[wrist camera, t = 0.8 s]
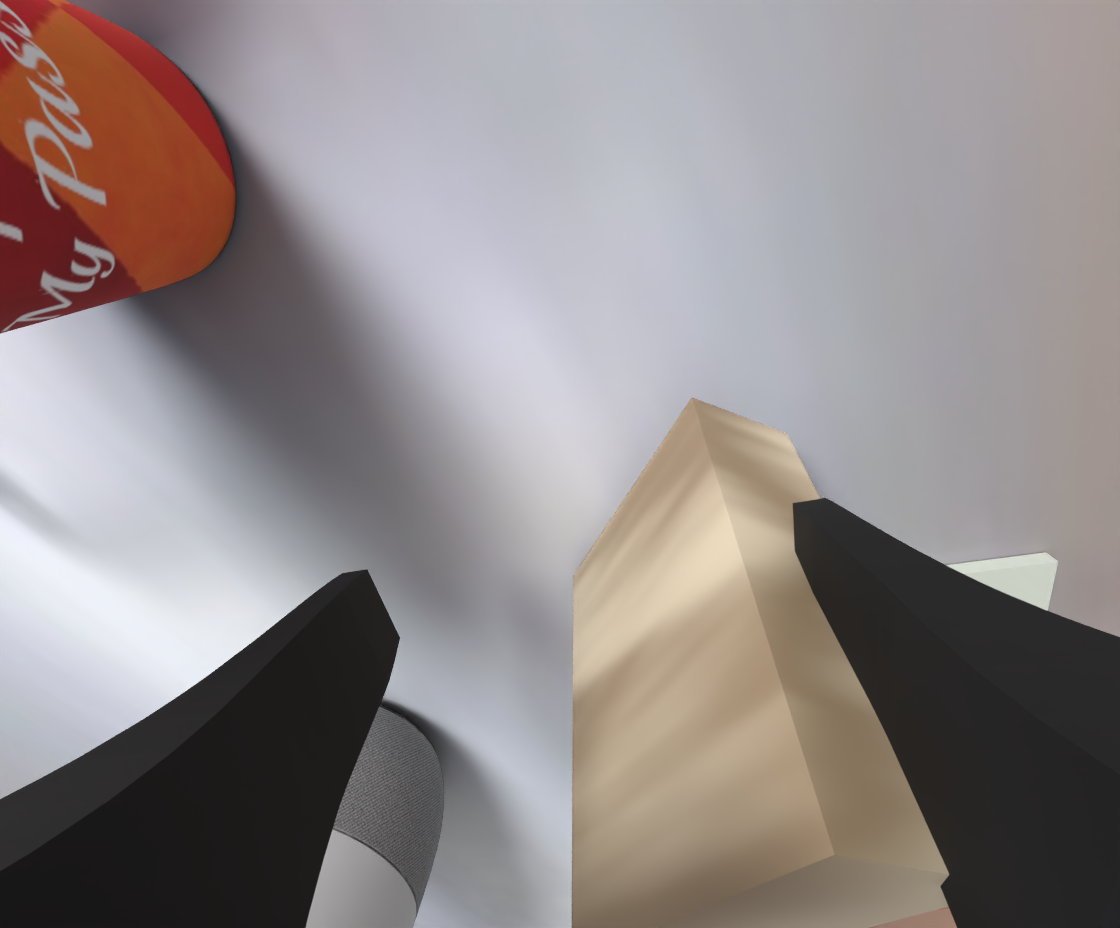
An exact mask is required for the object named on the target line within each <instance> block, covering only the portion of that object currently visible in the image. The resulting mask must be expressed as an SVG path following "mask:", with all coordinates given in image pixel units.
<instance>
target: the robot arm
mask: <svg viewBox="0 0 1120 928" xmlns="http://www.w3.org/2000/svg"><path fill="white" fill-rule="evenodd" d="M793 522H794V545H795V553H796V555H797V557H798V559H799V562H800V564H801V566H802V569H803V571H804V573H805V576H806V578H807V580H808V582H809V585H810V587H811V589H812V592H813V594H814V596H815V598H816V600H817V602H818V604H819V605H820V607H821V609H822V611H823V613H824V615H825V617H826V619H827V621H828V623H829V625H830V626H831V628H832V630H833V632H834V634H835V636H836V638H837V640H838V642H839V644H840V646H841V648H842V649H843V651H844V653H845V655H846V657H847V659H848V661H849V663H850V665H851V667H852V669H853V671H854V672H855V674H856V676H857V678H858V680H859V682H860V684H861V686H862V688H863V690H864V692H865V694H866V695H867V697H868V699H869V701H870V703H871V705H872V707H873V709H874V711H875V713H876V715H877V717H878V719H879V721H880V723H881V725H882V727H883V729H884V731H885V733H886V735H887V737H888V739H889V742H890V744H891V746H892V748H893V751H894V753H895V755H896V757H897V759H898V762H899V764H900V766H901V768H902V770H903V773H904V775H905V777H906V779H907V782H908V784H909V786H910V788H911V790H912V793H913V795H914V797H915V799H916V802H917V804H918V806H919V808H920V810H921V813H922V815H923V817H924V819H925V821H926V824H927V826H928V828H929V830H930V833H931V835H932V837H933V839H934V841H935V844H936V846H937V848H938V850H939V853H940V855H941V857H942V859H943V861H944V864H945V866H946V868H947V870H948V872H949V876H948V877H947V878H946V880H945V881H944V882H943V883H942V885H941V886H940V887H941V889H942V892H943V894H944V897H945V899H946V902H947V904H948V907H949V909H950V911H951V914H952V916H953V919H954V921H955V924H956V926H957V928H1120V637H1117V636H1115V635H1112V634H1109V633H1106V632H1103V631H1100V630H1097V629H1094V628H1092V627H1089V626H1086V625H1083V624H1080V623H1078V622H1075V621H1072V620H1070V619H1067V618H1065V617H1062V616H1059V615H1057V614H1054V613H1052V612H1049V611H1047V610H1044V609H1042V608H1039V607H1037V606H1035V605H1032V604H1030V603H1027V602H1025V601H1023V600H1020V599H1018V598H1015V597H1013V596H1011V595H1008V594H1006V593H1003V592H1001V591H999V590H997V589H994V588H992V587H990V586H988V585H985V584H983V583H981V582H979V581H977V580H975V579H973V578H971V577H969V576H967V575H965V574H963V573H960V572H958V571H956V570H954V569H952V568H950V567H948V566H946V565H944V564H942V563H940V562H938V561H936V560H934V559H932V558H931V557H929V556H927V555H925V554H923V553H921V552H919V551H917V550H916V549H914V548H912V547H910V546H908V545H906V544H905V543H903V542H901V541H899V540H897V539H896V538H894V537H892V536H890V535H889V534H887V533H885V532H883V531H882V530H880V529H878V528H876V527H875V526H873V525H871V524H870V523H868V522H866V521H865V520H863V519H861V518H859V517H858V516H856V515H854V514H853V513H851V512H849V511H848V510H846V509H844V508H842V507H841V506H839V505H837V504H836V503H834V502H832V501H830V500H828V499H826V498H822V499H816V500H809V501H803V502H797V503H793ZM399 639H400V637H399V635H398V633H397V631H396V629H395V627H394V625H393V622H392V620H391V618H390V616H389V614H388V612H387V610H386V608H385V606H384V604H383V601H382V599H381V597H380V595H379V593H378V591H377V589H376V587H375V585H374V583H373V581H372V578H371V576H370V574H369V572H368V570H361V571H354V572H348V573H342V574H341V575H339V576H338V577H336V578H334V579H333V580H331V581H330V582H329V583H327V584H326V585H325V586H323V587H322V588H320V589H319V590H318V591H317V592H315V593H314V594H313V595H311V596H310V597H309V598H308V599H306V600H305V601H304V602H302V603H301V604H300V605H299V606H297V607H296V608H295V609H294V610H292V611H291V612H290V613H289V614H287V615H286V616H285V617H284V618H282V619H281V620H280V621H279V622H277V623H276V624H275V625H274V626H272V627H271V628H270V629H269V630H267V631H266V632H265V633H264V634H262V635H261V636H260V637H259V638H257V639H256V640H255V641H253V642H252V643H251V644H249V645H248V646H247V647H245V648H244V649H243V650H241V651H240V652H239V653H238V654H236V655H235V656H234V657H232V658H231V659H230V660H228V661H227V662H226V663H224V664H223V665H222V666H220V667H219V668H218V669H216V670H215V671H214V672H212V673H211V674H210V675H208V676H207V677H206V678H204V679H203V680H201V681H200V682H199V683H197V684H196V685H194V686H193V687H191V688H190V689H188V690H187V691H186V692H184V693H183V694H181V695H180V696H178V697H177V698H175V699H174V700H172V701H171V702H169V703H168V704H166V705H165V706H163V707H162V708H160V709H159V710H157V711H156V712H154V713H152V714H151V715H149V716H148V717H146V718H145V719H143V720H141V721H140V722H138V723H136V724H135V725H133V726H131V727H130V728H128V729H126V730H125V731H123V732H121V733H120V734H118V735H116V736H115V737H113V738H111V739H110V740H108V741H106V742H104V743H103V744H101V745H99V746H98V747H96V748H94V749H93V750H91V751H89V752H88V753H86V754H84V755H83V756H81V757H79V758H77V759H75V760H74V761H72V762H70V763H68V764H66V765H65V766H63V767H61V768H59V769H57V770H55V771H53V772H52V773H50V774H48V775H46V776H44V777H42V778H41V779H39V780H37V781H35V782H33V783H31V784H29V785H27V786H25V787H23V788H21V789H19V790H17V791H15V792H13V793H11V794H10V795H8V796H6V797H4V798H2V799H0V928H306V924H307V920H308V916H309V912H310V908H311V904H312V901H313V897H314V893H315V889H316V886H317V882H318V878H319V875H320V871H321V867H322V863H323V860H324V856H325V853H326V850H327V846H328V843H329V840H330V836H331V833H332V830H333V826H334V823H335V820H336V816H337V813H338V810H339V807H340V804H341V801H342V798H343V796H344V793H345V790H346V787H347V785H348V782H349V780H350V777H351V775H352V772H353V770H354V767H355V765H356V762H357V760H358V757H359V755H360V753H361V750H362V748H363V745H364V743H365V740H366V738H367V735H368V733H369V731H370V728H371V726H372V723H373V721H374V718H375V716H376V713H377V711H378V708H379V706H380V703H381V701H382V698H383V696H384V693H385V691H386V688H387V685H388V683H389V680H390V676H391V672H392V669H393V665H394V661H395V657H396V652H397V648H398V644H399Z"/></svg>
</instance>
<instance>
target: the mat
mask: <svg viewBox="0 0 1120 928" xmlns="http://www.w3.org/2000/svg"><path fill="white" fill-rule="evenodd" d="M1057 564H1058V561H1056V560H1055V559H1054V558H1053V557H1051V556H1050V555H1049V554H1048V553H1038V554H1030V555H1022V556H1014V557H1006V558H999V559H991V560H983V561H975V562H967V563H960V564H952V565H946V566H948V567H950V568H952V569H954V570H956V571H958V572H960V573H963V574H965V575H967V576H969V577H971V578H973V579H975V580H977V581H979V582H981V583H983V584H985V585H988V586H990V587H992V588H994V589H997V590H999V591H1001V592H1003V593H1006V594H1008V595H1011V596H1013V597H1015V598H1018V599H1020V600H1023V601H1025V602H1027V603H1030V604H1032V605H1035V606H1037V607H1039V608H1042V609H1044V610H1047V611H1048V607H1049V602H1050V597H1051V593H1052V588H1053V583H1054V578H1055V574H1056V569H1057Z"/></svg>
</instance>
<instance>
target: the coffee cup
mask: <svg viewBox="0 0 1120 928" xmlns="http://www.w3.org/2000/svg"><path fill="white" fill-rule="evenodd" d="M235 206H236V190H235V179H234V172H233V168H232V163H231V159H230V155H229V152H228V149H227V146H226V143H225V140H224V138H223V135H222V133H221V130H220V128H219V126H218V124H217V122H216V120H215V118H214V116H213V114H212V112H211V111H210V109H209V107H208V106H207V104H206V102H205V101H204V99H203V98H202V96H201V95H200V93H199V92H198V91H197V89H196V88H195V87H194V85H193V84H192V83H191V82H190V80H189V79H188V78H187V77H186V76H185V75H184V73H183V72H182V71H181V70H180V69H179V68H178V67H177V66H176V65H175V64H174V63H173V62H172V61H171V60H169V59H168V58H167V57H166V56H165V55H164V54H162V53H161V52H160V51H159V50H157V49H156V48H155V47H153V46H152V45H150V44H149V43H147V42H146V41H144V40H143V39H141V38H140V37H138V36H136V35H135V34H133V33H131V32H129V31H127V30H125V29H123V28H121V27H120V26H117V25H115V24H113V23H111V22H109V21H107V20H105V19H103V18H101V17H99V16H97V15H95V14H93V13H91V12H89V11H87V10H84V9H82V8H80V7H78V6H76V5H73V4H71V3H69V2H67V1H65V0H0V333H3V332H7V331H11V330H14V329H18V328H21V327H25V326H29V325H32V324H36V323H39V322H43V321H47V320H50V319H54V318H57V317H61V316H64V315H68V314H71V313H75V312H78V311H82V310H85V309H89V308H92V307H96V306H99V305H103V304H106V303H110V302H113V301H117V300H120V299H124V298H127V297H131V296H134V295H137V294H140V293H144V292H147V291H150V290H154V289H157V288H160V287H163V286H166V285H169V284H172V283H175V282H178V281H181V280H183V279H186V278H188V277H191V276H193V275H195V274H197V273H198V272H200V271H202V270H203V269H205V268H206V267H207V266H209V265H210V264H211V263H212V262H213V261H214V260H215V259H216V258H217V256H218V255H219V254H220V252H221V251H222V250H223V248H224V246H225V244H226V242H227V240H228V238H229V235H230V232H231V229H232V226H233V221H234V215H235Z"/></svg>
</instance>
